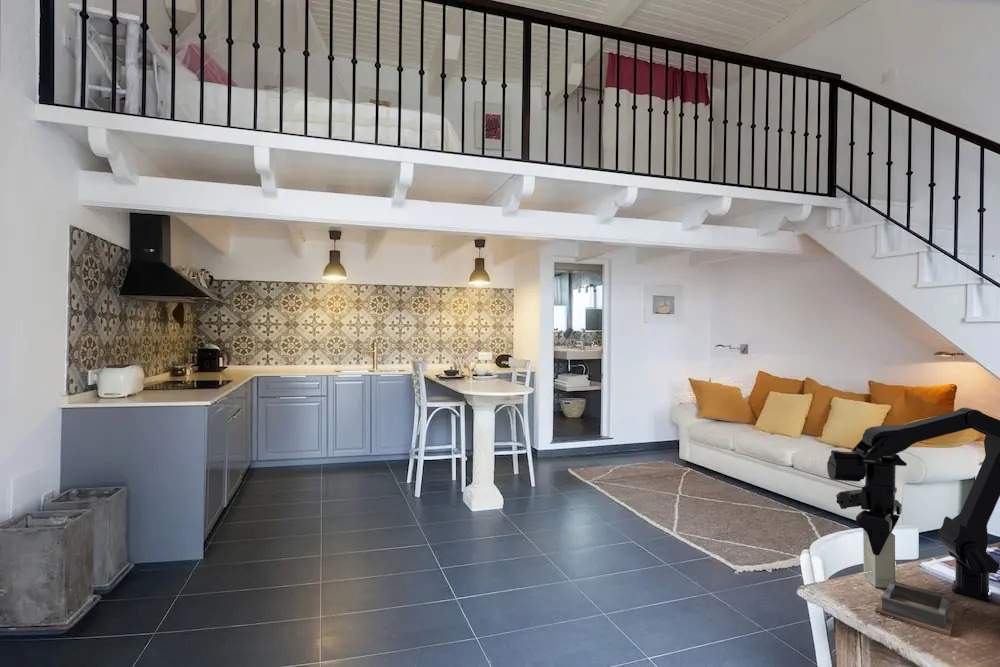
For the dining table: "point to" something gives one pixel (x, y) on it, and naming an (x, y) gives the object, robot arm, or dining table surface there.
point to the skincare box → (879, 562)
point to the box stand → (917, 608)
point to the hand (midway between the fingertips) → (879, 549)
